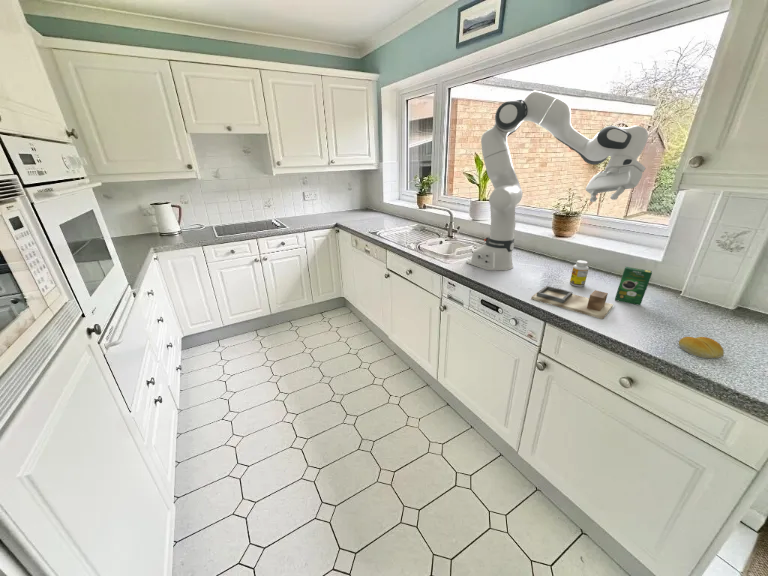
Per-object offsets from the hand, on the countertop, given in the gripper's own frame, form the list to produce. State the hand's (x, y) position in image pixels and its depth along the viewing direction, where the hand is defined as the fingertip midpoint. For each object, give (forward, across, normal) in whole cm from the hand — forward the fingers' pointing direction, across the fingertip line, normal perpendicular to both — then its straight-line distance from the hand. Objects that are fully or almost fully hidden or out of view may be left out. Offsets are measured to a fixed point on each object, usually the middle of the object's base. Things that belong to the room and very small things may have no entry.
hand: (602, 200), depth 126 cm
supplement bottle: (+33, -4, +12) cm, 35 cm away
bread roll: (+44, +45, +14) cm, 64 cm away
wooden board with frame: (+43, +10, 0) cm, 44 cm away
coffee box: (+34, +15, +18) cm, 41 cm away
